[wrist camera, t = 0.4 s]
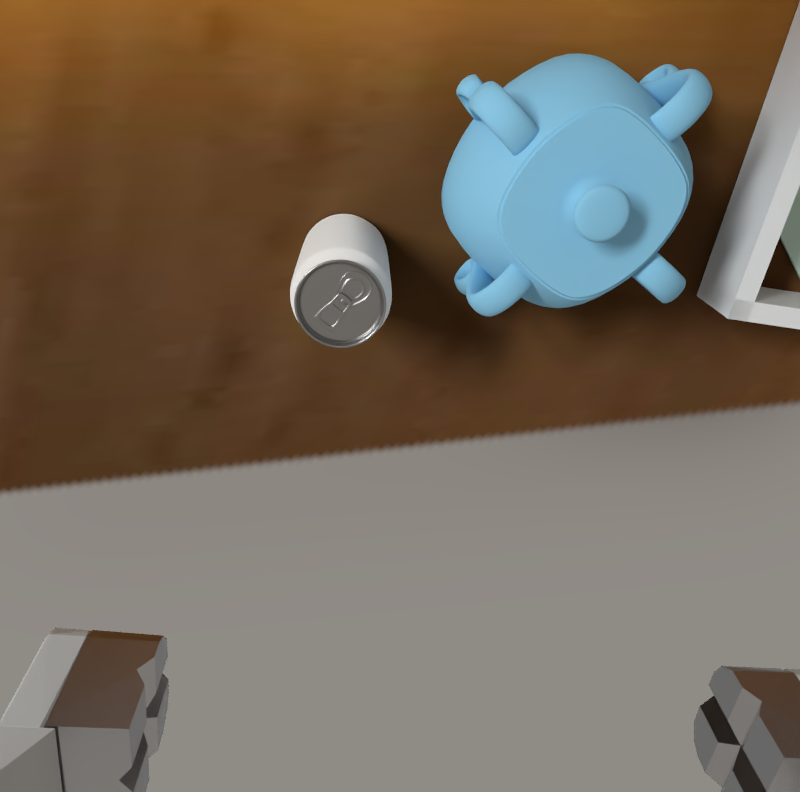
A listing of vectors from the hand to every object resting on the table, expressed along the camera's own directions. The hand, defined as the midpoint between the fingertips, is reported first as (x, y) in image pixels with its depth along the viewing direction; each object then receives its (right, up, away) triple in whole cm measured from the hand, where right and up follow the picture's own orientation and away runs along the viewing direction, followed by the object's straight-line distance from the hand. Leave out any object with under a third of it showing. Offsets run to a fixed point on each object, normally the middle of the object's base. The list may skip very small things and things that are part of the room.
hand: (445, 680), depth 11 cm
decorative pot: (+10, +20, +43) cm, 48 cm away
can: (-5, +15, +44) cm, 47 cm away
